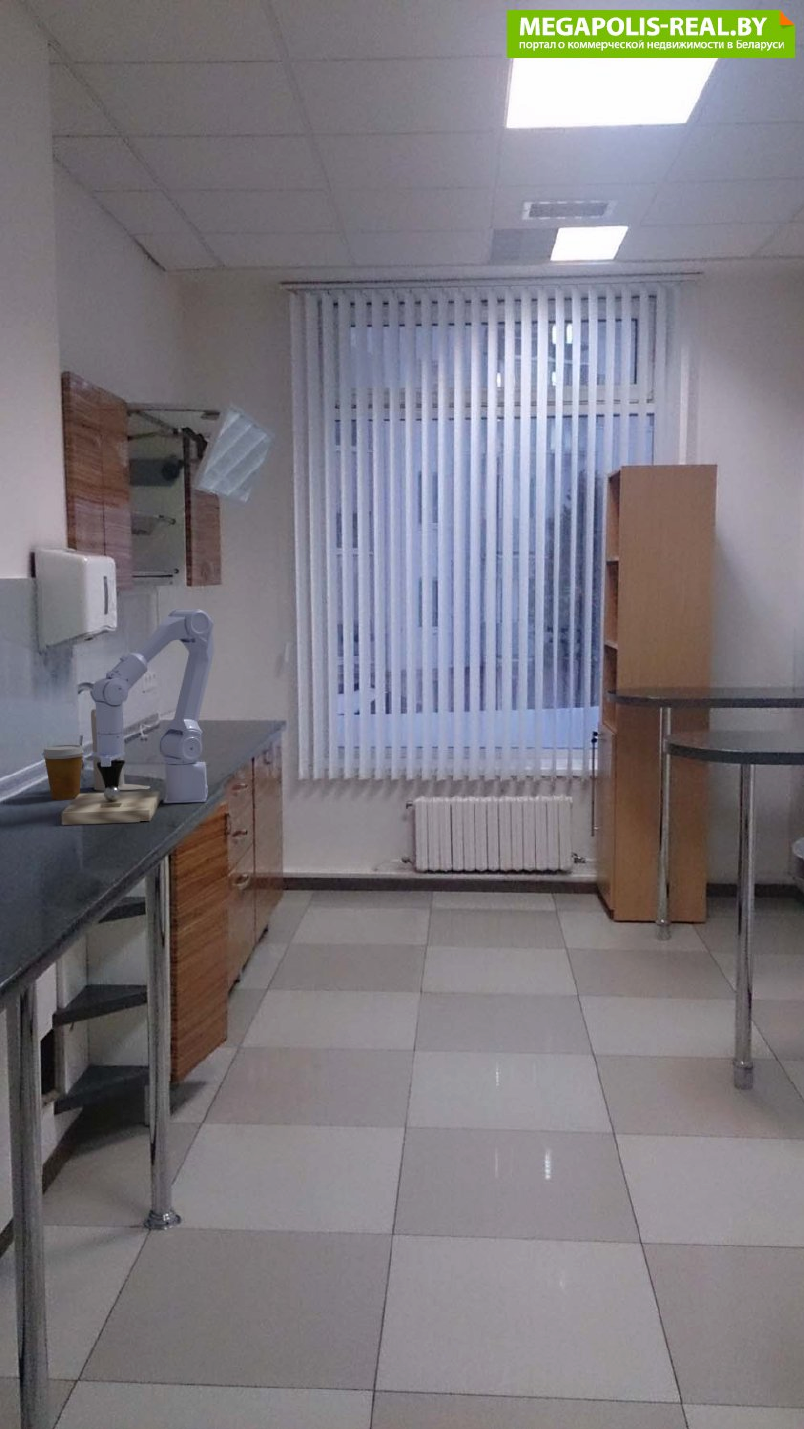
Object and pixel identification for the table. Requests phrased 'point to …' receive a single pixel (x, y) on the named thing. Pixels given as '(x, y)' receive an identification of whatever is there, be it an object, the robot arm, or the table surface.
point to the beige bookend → (97, 774)
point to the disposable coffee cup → (64, 770)
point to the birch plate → (111, 808)
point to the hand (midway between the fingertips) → (111, 793)
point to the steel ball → (111, 793)
